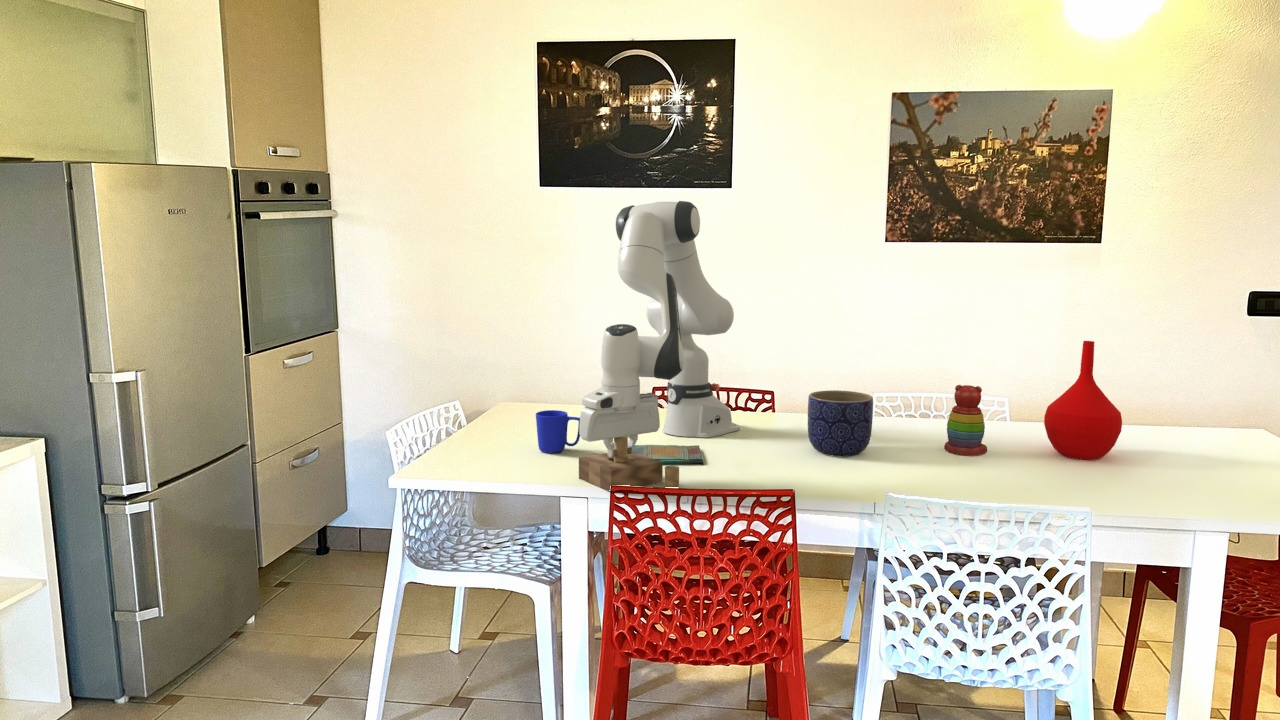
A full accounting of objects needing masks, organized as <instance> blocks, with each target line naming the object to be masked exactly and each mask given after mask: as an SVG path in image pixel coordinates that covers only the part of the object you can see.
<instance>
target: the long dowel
mask: <svg viewBox="0 0 1280 720" xmlns="http://www.w3.org/2000/svg"><path fill="white" fill-rule="evenodd" d="M628 441H629V438H628V436H623V437H618V438H613V443H614V449H617V456H615V457H614V462H615V463H623V462H628Z"/></svg>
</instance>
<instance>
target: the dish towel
mask: <svg viewBox="0 0 1280 720" xmlns="http://www.w3.org/2000/svg"><path fill="white" fill-rule="evenodd" d="M611 444H612V446H613V448H614V442H613V443H611ZM633 451H634V452H637V453H640V454H642V455H645V456H648V457H650V458H653V459H656V460H659V461H661V462H663V466H664V465H666V466H678V465H679V466H685V465H686V466H688V465H689V466H690V465H692V466H693V465H698V466H699V465H700V466H703V465H704V464H705V463H704V458H703V455H702V452H701V448H700V445H677V444H676V445H675V444H666V445H664V444H635V445H634V447H633Z"/></svg>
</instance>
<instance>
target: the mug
mask: <svg viewBox="0 0 1280 720" xmlns="http://www.w3.org/2000/svg"><path fill="white" fill-rule="evenodd" d="M571 420H573V421H578V426H577V427H578V428H577V435H576V439H575V441H574V442H572V443H569V442H568V427H569V426H568V425H569V421H571ZM535 423H536V433H537V434H536V435H537V447H538V450H539V451H540V452H541V453H545V454H557V453H560V452H563V451H564V450H565V448H566V446H568V447H575V446H576V445H577V444H578V443H579V441H580V437H581V436H580V433H579V426H580V417H578V416H569V415H568V412H566V411H564V410H558V409H557V410H556V409H554V410H553V409H551V410H548V409H546V410H540V411H537V412H536V413H535Z"/></svg>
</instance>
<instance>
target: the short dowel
mask: <svg viewBox="0 0 1280 720" xmlns="http://www.w3.org/2000/svg"><path fill="white" fill-rule="evenodd" d="M665 487H679V488H680V466H678V465H666V466H665V467H664V488H665Z"/></svg>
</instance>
